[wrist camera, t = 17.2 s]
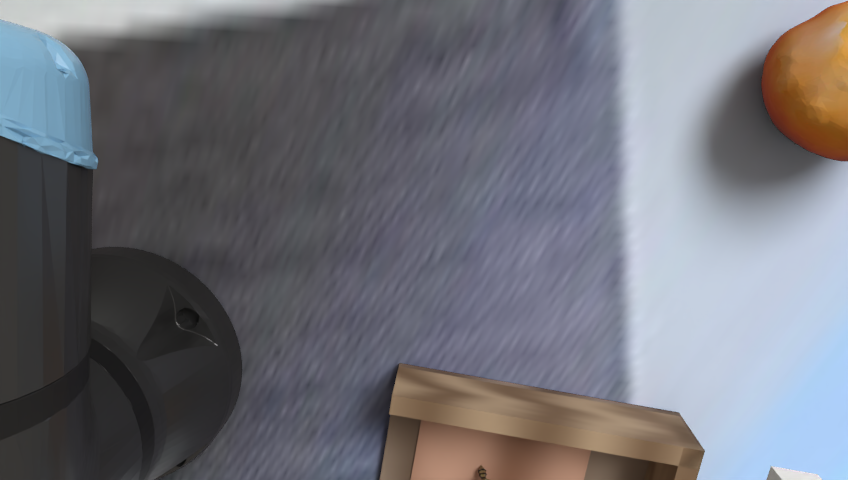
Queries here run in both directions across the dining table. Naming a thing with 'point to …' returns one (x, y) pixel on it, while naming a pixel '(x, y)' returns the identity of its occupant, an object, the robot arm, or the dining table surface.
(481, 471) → the game die
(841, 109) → the fruit
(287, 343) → the dining table surface
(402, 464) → the brown wooden tray
